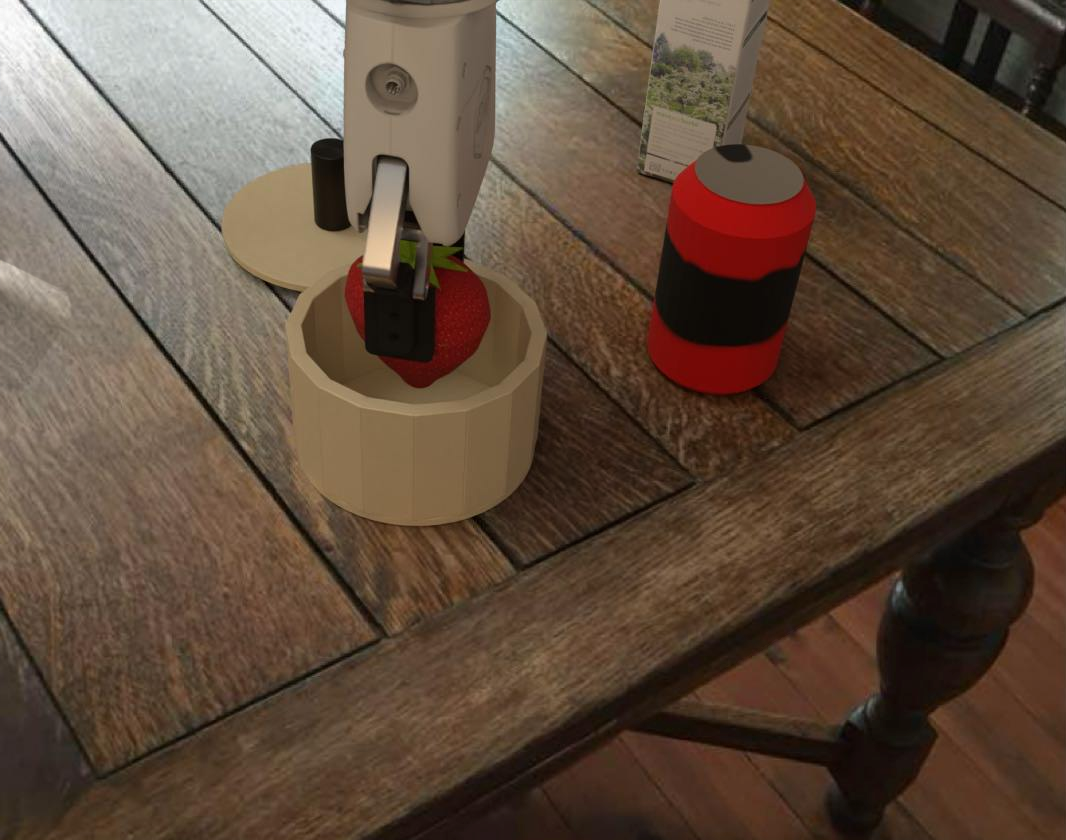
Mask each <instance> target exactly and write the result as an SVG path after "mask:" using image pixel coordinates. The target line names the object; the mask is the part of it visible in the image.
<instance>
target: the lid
mask: <svg viewBox="0 0 1066 840" xmlns="http://www.w3.org/2000/svg"><path fill="white" fill-rule="evenodd" d="M309 151H310V162H304V163H299V164H294V165H293V164H292V165H290V166H284V167H281V168H279V169H275V170H273V171H269V172H267V173H265V174H262V175H261V176H259V177H257V178H255V179H253V180H252V181H249V182H248V183H247V184H246V185H244V186H243V187H241V188H240V189H239V190H237V192H236V193H235V194H234V195H233V196H232V197H231V198H230V199H229V201H228V202H227V204H226V206H225V208H224V211H223V213H222V217H221V223H220V224H221V236H222V240H223V244H224V246H225V248H226V249H227V252H228V254H229V255H230V256H231V257H232V258H233V260H234V261H235V262H236V263H237V264H238V265H239V266H240V267H241V268H243V269H244V270H246V271H247V273H248V272H249V274H251V275H253V276H255V277H257V278H259V279H260V280H262V281H265V282H267V283H270V284H272V285H275V286H277V287H281V288H284V289H287V290H292V291H296V292H301V293H302V292H303V291H305V290H306V289H307V288H308V287H310V286H311V285H312V284H314V283H315V282H316V281H317V280H319V279H320V278H321V277H323V276H324V275H325V274H327V273H328V272H329V271H331V270H333V269H336V268H339V267H342V266H345V265H348V264H351V263H354V262H355V260H356V259H357V258H359V257H360V256H362V255H363V254H364V248H365V242H366V236H367V229H365V230H364V232H362V233H359V232H358V231H356V230H355V228H354V227H353V226H352V225H351V223H350V221H349V218H348V212H347V204H346V193H345V175H344V139H340V138H336V137H328V138H327V137H326V138H321V139H319V140H316V141H314V142H313V143H312V144H311V146H310V150H309Z"/></svg>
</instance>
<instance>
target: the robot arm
mask: <svg viewBox="0 0 1066 840" xmlns="http://www.w3.org/2000/svg"><path fill="white" fill-rule="evenodd" d="M499 1H500V0H345V22H344V48H343V50H342V57H343V116H342V117H343V140H344V175H345V193H346V204H347V212H348V218H349V221H350V223H351V225H352V226H353V227H354V228H355V230H356V231H358V232H359V233H362V232H364V230H365V229H367V236H366V242H365V248H364V255H363V261H362V276H363V291H364V329H365V349H366V351H367V352H368V353H370V354H372V355H378V356H384V357H390V358H397V359H403V360H409V361H416V362H422V363H428V362H430V361H431V360H432V358H433V355H434V352H435V315H436V287H430V286H429V280H430V270H431V259H432V249H433V246H444V247H464V249H462V250H460V251H458V252H456V253H454V254H452V255H453V256H455V257H456V258H458V259H459V260H461V261H462V262H463V263H464V259H465V245H466V243H465V242H466V228H467V226H468V224H469V222H470V218H471V216H472V213H473V210H474V208H475V204H476V201H477V198H478V195H479V193H480V190H481V186H482V184H483V181H484V178H485V176H486V173H487V169H488V166H489V162H490V159H491V156H492V153H493V149H494V142H495V135H496V92H497V91H496V90H497V89H496V84H497V81H496V79H497V77H496V75H497V74H496V73H497V3H498V2H499ZM401 240H404V241H411V242H417V246H416V257H415V268H414V269H413V267H412V266H411V265H410V264H409V263H405V262H401V258H400V242H401Z"/></svg>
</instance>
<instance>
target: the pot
mask: <svg viewBox="0 0 1066 840" xmlns="http://www.w3.org/2000/svg"><path fill="white" fill-rule="evenodd" d="M352 264H353V263H351V264H348V265H345V266H342V267H339V268H336V269H333V270H331V271H329V272H328V273H327V274H325V275H324V276H323V277H321V278H320V279H319V280H317V281H316V282H315V283H314V284H312V285H311V286H310V287H308V288H307V289H306V290H305V291H303V292H301V293H300V294H299V295H298V296H297V298H296V301H295V303H294V305H293V307H292V309H291V312H290V313H289V316H288V318H287V320H286V323H285V326H284V330H285V343H286V351H287V352H286V355H287V367H288V378H289V391H290V403H291V417H292V429H293V435H294V441H295V449H296V455H297V459H298V463H299V465H300V467H301V469H302V472H303V474H304V475H305V477H306V479H308V481H309V482H310V484H311V485H312V486H313V488H315V489H316V490H317V492H318V493H320V494H321V495H322V496H323V497H325V498H326V499H327V500H329V501H330V502H331V503H332V504H335V506H338V507H340V508H341V509H343V510H344V511H347V512H349V513H351V514H354V515H356V516H358V517H361V518H365V519H367V520H370V521H374V522H378V523H382V524H383V523H384V524H387V525H396V526H403V527H404V526H405V527H429V526H439V525H445V524H451V523H457V522H460V521H463V520H466V519H467V520H468V519H470V518H473V517H476V516H477V515H480V514H483V513H485V512H487V511H489V510H491V509H492V508H494V507H496V506H497V505H499V504H501V503H502V502H503V501H505V500H506V499H508V498H509V496H511V495H512V494H513V493H514V492H515V491H516V490H517V489H518V488H519V487H520V485H521V484H522V483H523V481H524V480H525V479H526V477H527V475H528V473H529V471H530V469H531V466H532V464H533V461H534V457H535V456H534V455H535V450H536V449H535V448H536V444H537V440H538V434H539V426H540V425H539V424H540V416H541V415H540V414H541V413H540V412H541V403H542V393H543V391H542V390H543V383H544V374H545V373H544V372H545V364H546V363H545V361H546V351H547V341H548V331H547V328H546V325H545V322H544V320H543V317H542V316H541V313H540V310H539V307H538V305H537V302H536V301H535V300H534V299H533V298H531V297H530V295H528V294H527V293H526V292H525V291H524V290H523V289H522V288H521V287H520V286H518V285H517V284H516V283H515V282H514V280H512V279H510V278H509V277H508V276H507V275H505V274H503V273H500V272H498V271H496V270H493V269H492V268H489V267H487V266H484V265H481V264H480V263H477V262H474V261H472V260H470V259H467V258H464V264H466V265H467V266H468V267H469V268H470V269H471V270H472V271H473V272H474V273H475V274H476V275H477V276H478V277H479V278H480V280H481V281H482V282H483V284H484V286H485V288H486V291H487V295H488V300H489V305H490V311H491V319H490V322H489V325H488V327H487V330H486V332H485V334H484V336H483V339H482V341H481V343H480V345H479V347H478V349H477V351H476V352H475V353H474V354H473V355H472V356H471V357H470V358H469V359H467V360H466V361H465V362H464V363H463V364H461V365H460V366H459V367H458V368H456V369H455V370H454V371H453V372H451V373H450V374H448V375H446V376H444V377H442V378H440V379H438V380H436V381H435V382H434V383H433V384H432V385H430V386H428V387H426V388H421V389H419V388H414V387H412V386H410V385H408V384H407V383H405V382H404V381H403V380H402V378H401V377H400V376H399V375H398V374H397V373H396V372H394V371H393V370H392V369H391V368H389V367H388V366H387V365H386V364H385V363H384V362H383V361H382V360H381V359H380V358H379V357H378V356H377V355H372V354H370V353H368V352H367V351H366V349H365V342H364V340H363V339H362V338H361V337H360V335H359V334H358V332H357V330H356V328H355V325H354V322H353V320H352V317H351V314H350V312H349V309H348V307H347V304H346V300H345V297H344V294H345V285H346V281H347V276H348V271H349V269H350V267H351V265H352Z"/></svg>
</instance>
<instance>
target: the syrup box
mask: <svg viewBox="0 0 1066 840" xmlns="http://www.w3.org/2000/svg"><path fill="white" fill-rule="evenodd" d="M770 3H771V0H659V2H658V4H659V5H658V11H657V19H656V26H655V27H656V28H655V33H654V40H653V47H652V53H651V54H652V55H651V61H650V69H649V76H648V83H647V90H646V97H645V106H644V113H643V120H642V126H641V133H640V142H639V149H638V155H637V162H636V163H637V164H636V172H637V173H638V174H642V175H645V176H649V177H652V178H655V179H658V180H661V181H665V182H668V183H671V184H673V183H674V180H675V179H676V177H677V176H678V174H679V173H681V172H682V171H683V170H684V169H685V168H687V167H688V166H689V165H690V164H692V163H693V162H694V161H696V160H697V159H698V157H699V156H700V155H701V154H703V153H704V152H706V151H707V150H709V149H712V148H715V147H718V146H723V145H731V144H743V138H744V133H745V126H746V120H747V115H748V111H749V110H748V109H749V105H750V99H751V94H752V90H753V85H754V80H755V75H756V71H757V65H758V60H759V56H760V51H761V46H762V42H763V36H764V34H765V33H764V32H765V28H766V24H767V18H768V15H769V14H768V13H769V9H770Z"/></svg>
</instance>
